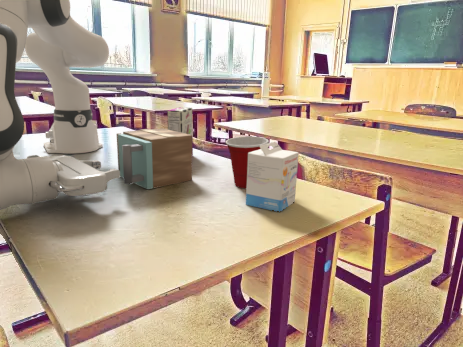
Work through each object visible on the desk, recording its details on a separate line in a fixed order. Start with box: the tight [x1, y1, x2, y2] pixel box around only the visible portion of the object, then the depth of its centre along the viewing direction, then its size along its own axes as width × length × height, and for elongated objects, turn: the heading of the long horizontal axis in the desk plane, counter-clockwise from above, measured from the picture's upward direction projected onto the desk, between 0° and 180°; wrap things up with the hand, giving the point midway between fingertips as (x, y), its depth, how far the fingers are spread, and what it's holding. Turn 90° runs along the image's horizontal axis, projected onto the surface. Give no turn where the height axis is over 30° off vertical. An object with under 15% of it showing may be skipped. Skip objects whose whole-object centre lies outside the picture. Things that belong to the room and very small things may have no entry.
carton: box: [122, 128, 193, 189], centre depth 95 cm, size 14×12×12 cm
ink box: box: [245, 141, 300, 213], centre depth 78 cm, size 9×8×13 cm
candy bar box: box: [166, 106, 194, 156], centre depth 117 cm, size 11×5×16 cm, turn 168°
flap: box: [116, 132, 154, 190], centre depth 89 cm, size 16×6×11 cm, turn 43°
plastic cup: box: [225, 135, 270, 189], centre depth 91 cm, size 11×11×12 cm
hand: (108, 168), depth 81 cm, fingers open, 8 cm apart
